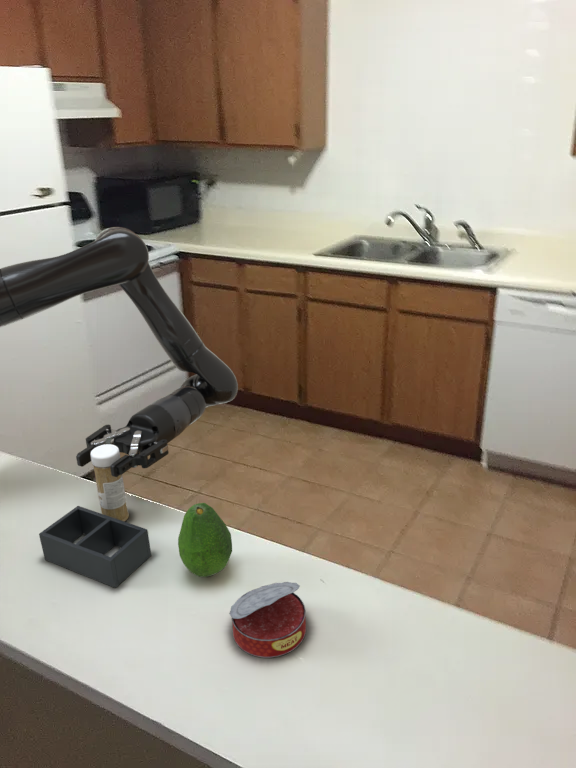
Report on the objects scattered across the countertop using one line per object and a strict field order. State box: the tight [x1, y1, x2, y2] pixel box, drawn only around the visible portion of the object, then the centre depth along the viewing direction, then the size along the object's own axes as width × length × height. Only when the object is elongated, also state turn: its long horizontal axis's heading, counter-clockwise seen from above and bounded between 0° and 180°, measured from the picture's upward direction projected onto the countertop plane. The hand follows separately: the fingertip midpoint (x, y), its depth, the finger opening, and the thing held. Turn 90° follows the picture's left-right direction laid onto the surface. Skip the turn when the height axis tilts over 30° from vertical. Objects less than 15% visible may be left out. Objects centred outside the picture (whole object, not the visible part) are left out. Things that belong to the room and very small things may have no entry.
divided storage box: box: [38, 505, 152, 589], centre depth 104 cm, size 14×8×5 cm, turn 61°
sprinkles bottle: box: [90, 443, 130, 522], centre depth 111 cm, size 5×5×13 cm
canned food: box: [228, 581, 307, 659], centre depth 88 cm, size 11×10×10 cm
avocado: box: [177, 502, 233, 578], centre depth 98 cm, size 8×8×12 cm
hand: (95, 466), depth 107 cm, fingers open, 6 cm apart
